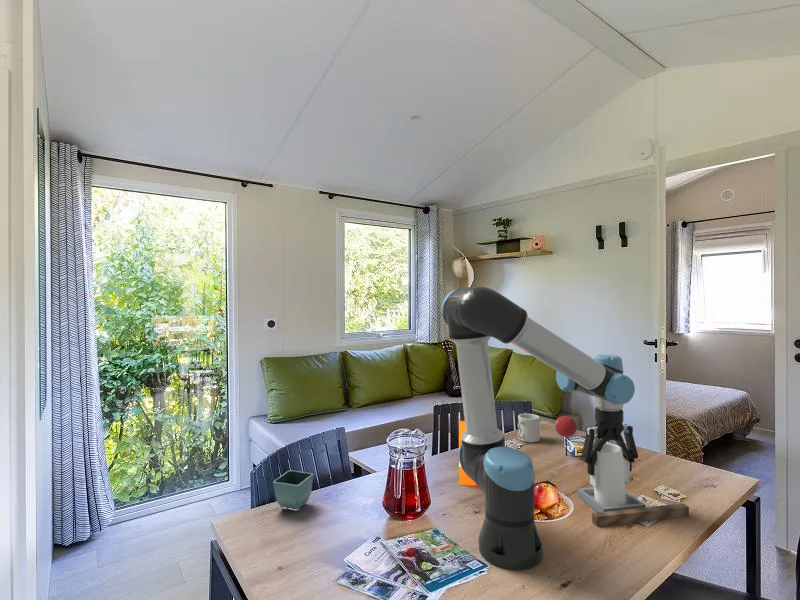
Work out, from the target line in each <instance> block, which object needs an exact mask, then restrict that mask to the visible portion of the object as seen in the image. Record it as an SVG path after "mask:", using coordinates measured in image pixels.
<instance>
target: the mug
mask: <svg viewBox="0 0 800 600" xmlns="http://www.w3.org/2000/svg"><path fill="white" fill-rule="evenodd" d="M517 418H518V423H517V429H518V432H517V437H518V439H519V441H521V442H524V443H537V442H540V440H541V433H540V416H539V415H537V414H534V413H520V414H518V415H517Z"/></svg>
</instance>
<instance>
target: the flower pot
mask: <svg viewBox="0 0 800 600" xmlns="http://www.w3.org/2000/svg"><path fill="white" fill-rule="evenodd" d="M313 480H314V473H311V472H303V471H297V470H291V469H290V470H287V471H286V472H285V473H283V474H282V475H280V476H279V477H278V478H276V479H275V480H272V484H273V490H274V495H275V499H276V501H277V504H278V505H279V506H280V508H281V507H286V508H292V509H299V508H300V507H301V506H302V505H303V504H305V503H306V504H307V502H308V500H309V499H310V496H311V494H312V488H313V483H314V481H313ZM306 504H305V505H306ZM300 509H301V508H300ZM300 509H299V510H300Z"/></svg>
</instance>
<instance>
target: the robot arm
mask: <svg viewBox="0 0 800 600" xmlns="http://www.w3.org/2000/svg"><path fill="white" fill-rule="evenodd" d="M440 308H441V316H442V319H443V321H444V323H445V325H447V328H448V336H449V340H450V341H451V342H452V343H454V344H455V346H456V347H455V348H456V357H457V365H458V374H459V382H460V392H461V400H462V407H463V408H462V409H463V418H464V421H465V427H466V430H465V432H464V433H463V434H462V435H461V440H462V444H461V445H460V447H459V446H458V451H457V452H458V454H457V456H458V463H459V462H460V465H461V467H462V469H463V471H464V472H465V473H466V475H467V476H468V477H469V478H471V479H472V480H473V481H474V482H475V483H476V484H477V485H478V486H477V485H476V486H477V487H478V488H479V489H480V490H481V491H482V492H483V493H484V509H485V511H484V512H485V514H484V520H483V523H482V526H481V529H480V532H479V534H478V551H479V553H480V555H481V556H482V558H484V560H486V561H487V562H489V563H490V564H492V565H494V566H497V567H499V568H503V569H509V570H526V569H530V568H533V567H535V566H537V565H538V564H540V563H541V561H542V560H543V555H544V552H543V551H544V550H543V542H542V539H541V536H540V533H539V531H538V528H537V525H536V521H535V520H536V519H535V478H536V476H535V470H534V463H533V461H532V459H531V458H530V456H529V455H527V454H526V453H525V452H524V451H523V450H519V449H518V448H517V449H514V447H510V446H506V440H505V433H504V432H503V431H502V430H501V429H499V427H498V421H497V413H496V405H495V403H496V402H495V396H494V395H495V394H494V386H493V377H492V376H493V375H492V368H491V359H490V351H489V340H490V339H491V338H494V339H496V340H498V341H499V342H501V343H503V344H507V345H508V344H511V345H514V346H515V347H517V348H519V349H520V350H522V351H523V352H525V353H527V354H529V355H530V356H531V357H534V358H535V359H537V360H538V361H540V362H542V363H544V364H545V365H547V366H548V367H550V368H551V369H553V370H555V371H556V373H555V378H556V379H555V380H556V384H557V385H558V388H559V389H560V390H562V391H563V392H570V393H572V392H573V393H574V392H580V393H583V394H586V395H590V396H591V397H594V406H595V407H594V420H595V425H594V426H593V427H589V426H586V427H585V438H584V442H583V446H582V451H581V455H580V460H581V461H583V462H584V463H586V464H587V474H588V475H589V484H590V485H591V486H592V487H595V488H596V487H598V465H597V464H595V462H596V460H597V451H599V452H601V450H602V447H603V445H604V444H606V443H608V442H610V441H615V443H616V444H615V445H618V446H620V447H621V448H622V453H623V468H624V483H625V485H631V473H630V472H632V471H633V470H632V469H633V463H635V459H636V460H637V459H638V458H639V454H638V450H637V446H636V442H635V438H634V433H633V432H634V431H633V430H634V427H633V426H631V425H629V424H627V423H625V424H623V422H624V410H623V408H624V405H625V404H628V403H629V402H630V401H631V400H632V399H633V397H634V395H635V391H636V390H635V389H636V388H635V384H634V381H633V380H632V378H631V377H630V376H628V375H625V374H624V366H623V365H624V364H623V359H622V357H620V356H618V355H614V354H597V355H595V356H594V358H593V357H591V356H589V355H588V354H587V353H584V352H583V351H582V350H580V349H579V348H577V347H576V346H574V345H572V344H571V343H569V342H568V341H566V340H564V339H563V338H562V337H560V336H558V335H557V334H555V333H553V332H552V331H550V330H549V329H547V328H546V327H545V326H542V324H539V323H538V322H537V321H535V320H533V319H531V318H530V317H529V314H528V311H527V310H525V309H524V308H523V307H522V306H519V305H518V304H516V303H515V302H514V301H513V300H511V299H509V298H507V297H506V296H505V295H502V294H501V293H500V292H499V291H496V290H494V289H492V288H490V287H486V286H475V287H473V286H472V287H469V286H467V287H466V286H463V287H459V288H455V289H454V290H452V291H450V292H449V293H447V295H446V296H445V298H444V299H443V301H442V304H441V307H440ZM622 433H623V436H624V438H623V436H622ZM593 449H594V450H593Z"/></svg>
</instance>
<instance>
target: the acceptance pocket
mask: <svg viewBox="0 0 800 600" xmlns="http://www.w3.org/2000/svg"><path fill="white" fill-rule="evenodd" d="M576 492H577V498H579V499H580V500H581V501H582V502H584V503H585V504H586V505H587V506H588V507H589V508H591V509H592V510H594V511H595V513H599V512H608V511H617V510H626V509H636V508H645V507H647V504H645V503H644V502H643V501H641V500H640V499H638V498H636V497H635V496H633V494H631V493H629V492H627V491H626V490H625V499H626V505H621V506H611V507H604V506H603V505H601V504H600V503H599V502H597V501H596V500H595V495H594V486H591V487H581V488H577V491H576Z"/></svg>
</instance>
